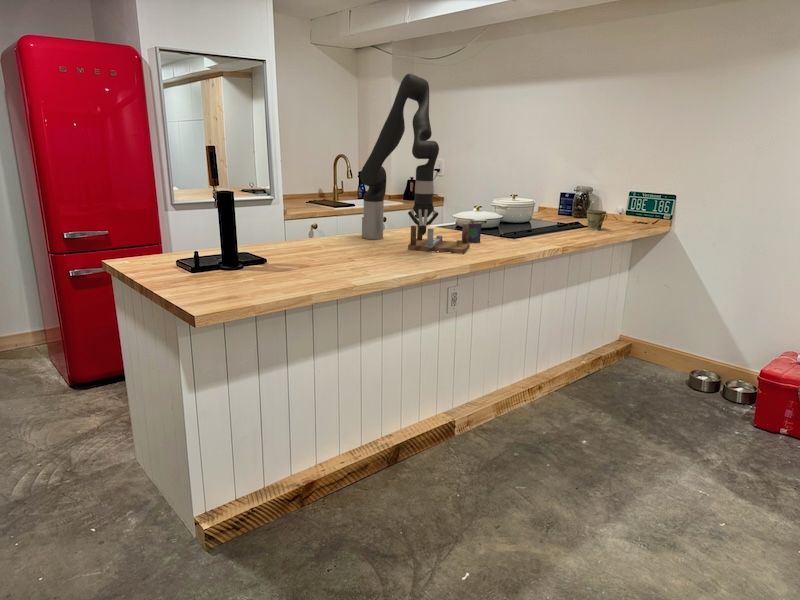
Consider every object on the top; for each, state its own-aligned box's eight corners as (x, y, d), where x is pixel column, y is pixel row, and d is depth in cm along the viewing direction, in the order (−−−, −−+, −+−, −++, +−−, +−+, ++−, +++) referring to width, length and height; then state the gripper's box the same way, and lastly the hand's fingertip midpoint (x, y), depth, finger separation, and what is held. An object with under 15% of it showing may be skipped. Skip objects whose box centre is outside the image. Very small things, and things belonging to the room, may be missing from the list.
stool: (407, 249, 238) (408, 226, 235) (416, 243, 253) (417, 221, 250) (464, 254, 232) (465, 230, 229) (469, 247, 247) (470, 224, 244)
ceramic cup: (580, 228, 305) (582, 210, 302) (594, 227, 309) (596, 209, 306) (597, 232, 293) (600, 213, 290) (612, 231, 297) (614, 212, 295)
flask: (462, 243, 255) (464, 220, 252) (460, 242, 257) (461, 219, 254) (481, 242, 258) (482, 219, 255) (478, 241, 260) (479, 218, 257)
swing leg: (437, 240, 248) (437, 222, 246) (442, 240, 248) (443, 223, 245) (426, 247, 231) (426, 229, 229) (432, 248, 231) (433, 229, 229)
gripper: (406, 192, 223) (405, 235, 228) (440, 193, 222) (438, 237, 227) (408, 190, 230) (407, 232, 235) (440, 191, 229) (439, 233, 234)
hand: (422, 234), depth 231 cm, fingers closed
